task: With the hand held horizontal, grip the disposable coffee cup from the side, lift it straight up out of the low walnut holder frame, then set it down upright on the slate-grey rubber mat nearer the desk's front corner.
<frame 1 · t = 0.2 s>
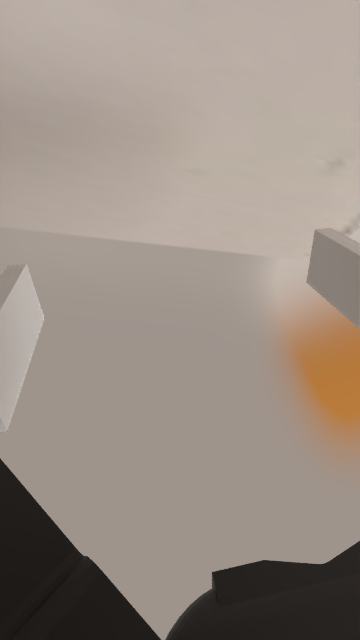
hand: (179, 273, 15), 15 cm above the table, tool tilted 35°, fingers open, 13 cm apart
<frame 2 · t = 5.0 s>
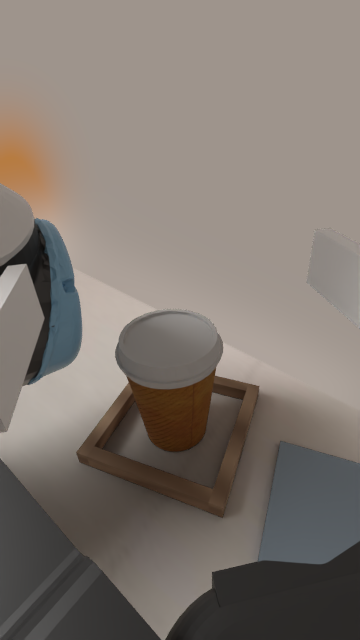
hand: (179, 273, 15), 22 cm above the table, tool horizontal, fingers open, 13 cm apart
disposable coffee cup: (176, 427, 35), resting in cup holder frame
rubber mat: (353, 537, 25), on the table
cup holder frame: (176, 426, 35), on the table
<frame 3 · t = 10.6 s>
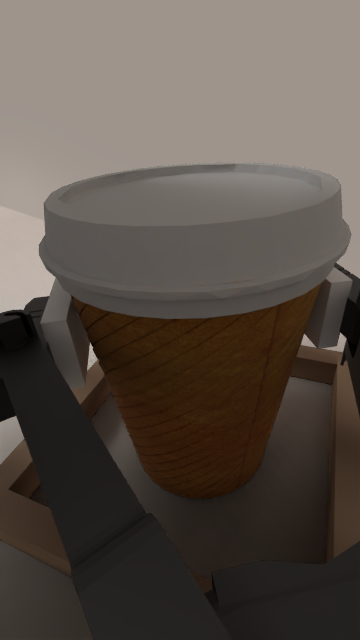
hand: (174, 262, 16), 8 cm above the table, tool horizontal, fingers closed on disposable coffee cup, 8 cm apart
disposable coffee cup: (199, 440, 17), resting in cup holder frame, touching gripper
cup holder frame: (199, 437, 17), on the table
when the fingers open (9 cm above the table, at t = 16.5 s): disposable coffee cup moves 1 cm, resting on rubber mat.
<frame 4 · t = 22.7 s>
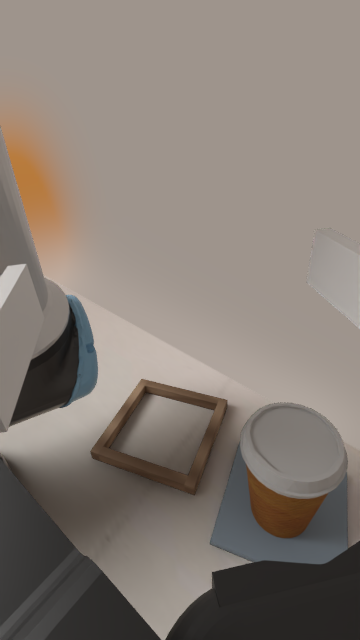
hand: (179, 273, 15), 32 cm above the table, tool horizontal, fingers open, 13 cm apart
disposable coffee cup: (279, 508, 37), resting on rubber mat
rubber mat: (283, 506, 37), on the table
cup holder frame: (164, 431, 47), on the table
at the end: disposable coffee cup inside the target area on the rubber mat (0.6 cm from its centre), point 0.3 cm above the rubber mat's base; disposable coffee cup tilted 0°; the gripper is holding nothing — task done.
